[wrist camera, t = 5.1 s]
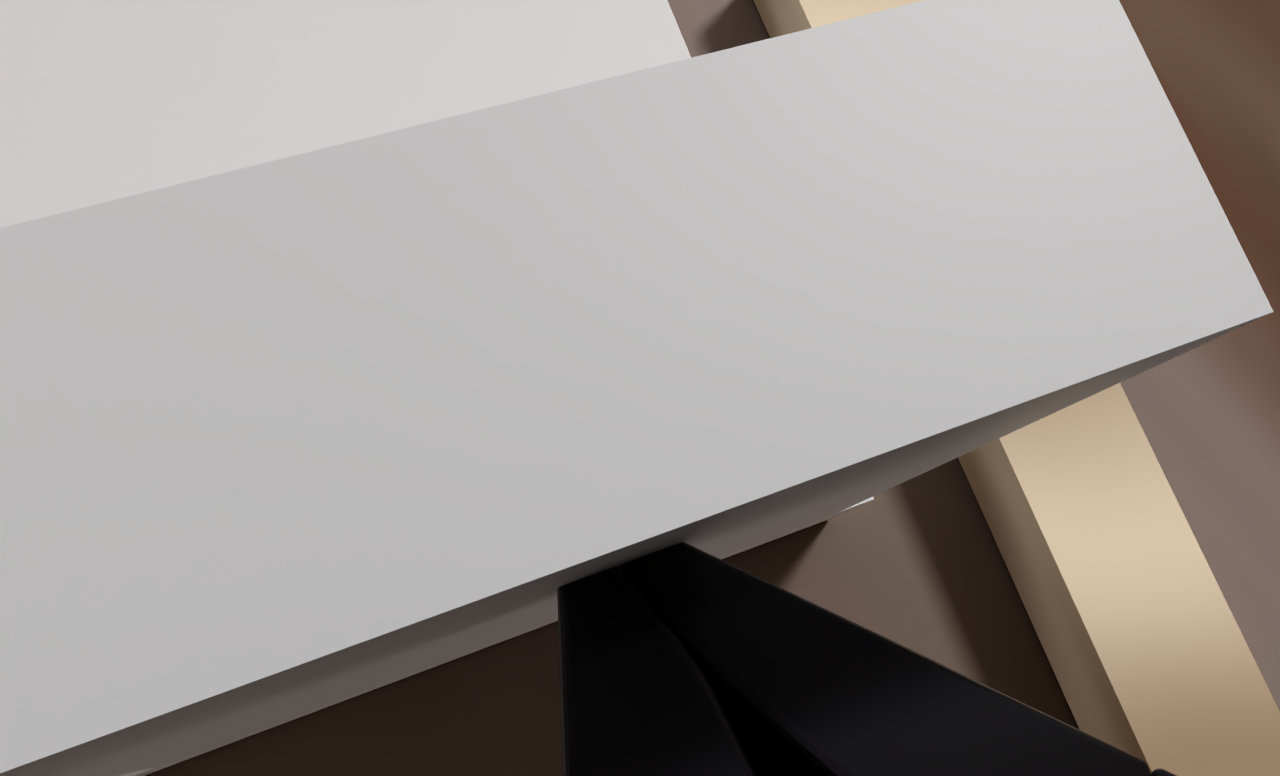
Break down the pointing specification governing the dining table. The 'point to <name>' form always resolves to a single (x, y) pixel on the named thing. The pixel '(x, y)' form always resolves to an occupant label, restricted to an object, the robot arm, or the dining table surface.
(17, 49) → the white l-shaped bracket
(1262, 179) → the dining table surface
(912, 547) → the dining table surface
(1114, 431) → the channel
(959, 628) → the dining table surface
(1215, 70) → the dining table surface
